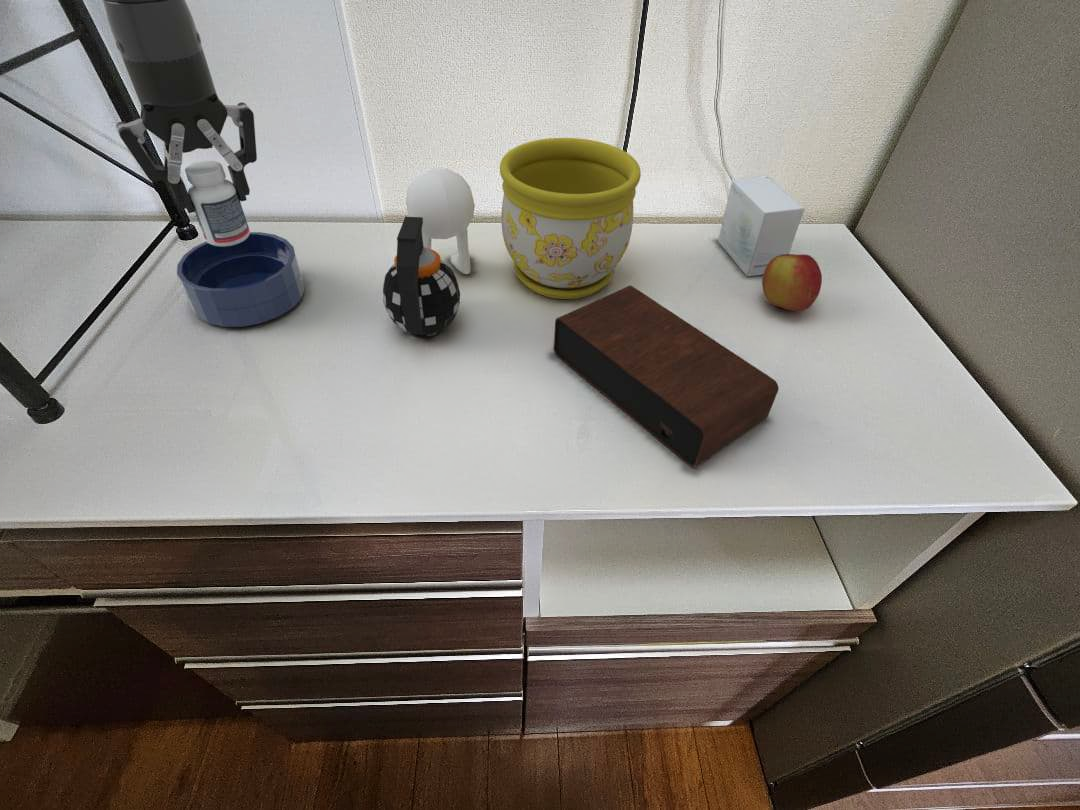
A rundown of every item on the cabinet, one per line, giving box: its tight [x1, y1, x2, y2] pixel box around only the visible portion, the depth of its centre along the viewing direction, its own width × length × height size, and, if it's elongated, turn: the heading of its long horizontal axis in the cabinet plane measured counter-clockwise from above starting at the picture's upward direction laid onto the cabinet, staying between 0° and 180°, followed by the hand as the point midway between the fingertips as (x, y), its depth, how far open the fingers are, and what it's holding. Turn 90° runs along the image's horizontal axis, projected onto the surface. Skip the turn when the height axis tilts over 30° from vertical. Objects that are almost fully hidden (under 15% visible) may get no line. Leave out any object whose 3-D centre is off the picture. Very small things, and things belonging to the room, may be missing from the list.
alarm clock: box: [553, 285, 780, 468], centre depth 72 cm, size 24×12×6 cm, turn 38°
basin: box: [176, 231, 305, 328], centre depth 83 cm, size 14×14×6 cm
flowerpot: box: [499, 137, 642, 300], centre depth 85 cm, size 18×18×16 cm
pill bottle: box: [184, 160, 251, 247], centre depth 75 cm, size 5×5×9 cm
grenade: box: [382, 216, 461, 339], centre depth 75 cm, size 11×10×15 cm
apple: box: [761, 253, 823, 313], centre depth 84 cm, size 8×8×8 cm
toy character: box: [405, 167, 476, 275], centre depth 86 cm, size 9×9×15 cm
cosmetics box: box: [717, 174, 805, 277], centre depth 92 cm, size 10×6×10 cm, turn 13°
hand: (216, 203), depth 75 cm, fingers closed on pill bottle, 5 cm apart
